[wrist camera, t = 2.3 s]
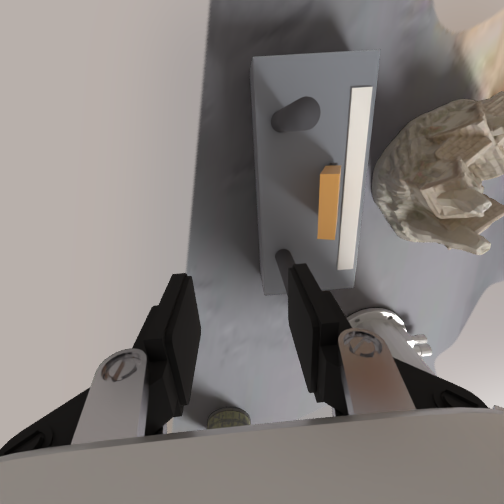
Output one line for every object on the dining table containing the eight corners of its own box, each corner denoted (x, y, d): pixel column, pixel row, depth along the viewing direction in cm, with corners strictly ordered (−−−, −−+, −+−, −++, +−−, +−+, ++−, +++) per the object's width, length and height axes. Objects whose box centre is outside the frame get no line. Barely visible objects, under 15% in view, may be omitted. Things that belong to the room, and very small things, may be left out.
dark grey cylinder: (291, 248, 32) (313, 292, 23) (291, 262, 33) (312, 311, 24) (274, 249, 32) (290, 294, 23) (275, 264, 33) (290, 313, 24)
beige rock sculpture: (397, 253, 40) (492, 307, 26) (352, 157, 34) (441, 157, 20) (494, 195, 38) (653, 218, 24) (463, 83, 32) (645, 27, 18)
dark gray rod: (290, 109, 26) (321, 95, 17) (290, 131, 27) (319, 129, 18) (270, 110, 26) (290, 97, 17) (271, 133, 27) (290, 131, 18)
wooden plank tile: (341, 162, 28) (339, 171, 22) (337, 219, 31) (334, 241, 25) (326, 162, 29) (320, 171, 23) (323, 219, 31) (317, 240, 25)
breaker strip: (355, 64, 30) (381, 48, 24) (339, 268, 40) (354, 288, 35) (249, 70, 29) (252, 56, 24) (260, 275, 40) (264, 296, 35)
